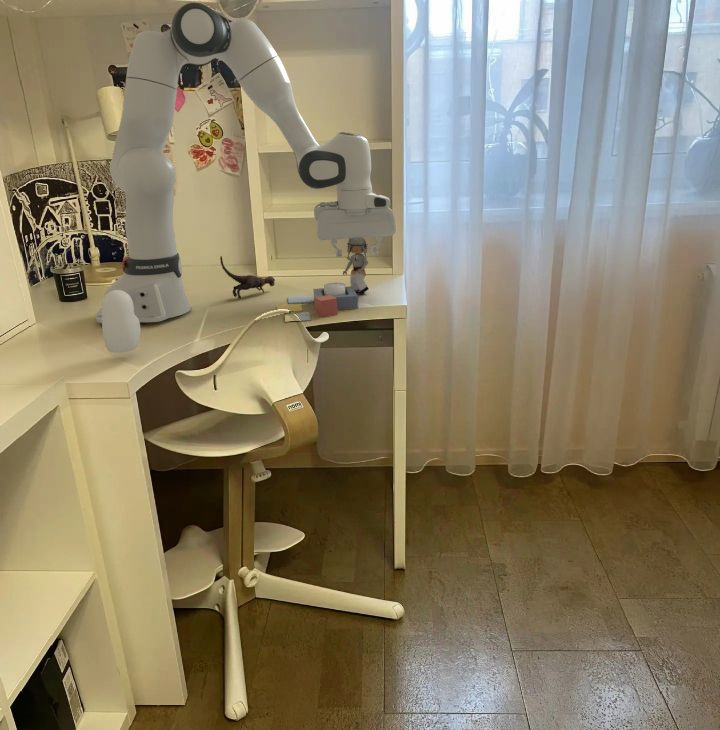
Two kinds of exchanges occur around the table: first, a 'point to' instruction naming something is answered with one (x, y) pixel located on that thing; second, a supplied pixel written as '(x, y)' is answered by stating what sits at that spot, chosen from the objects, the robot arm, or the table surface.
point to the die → (325, 305)
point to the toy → (357, 264)
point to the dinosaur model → (248, 281)
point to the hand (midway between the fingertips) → (357, 255)
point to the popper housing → (342, 298)
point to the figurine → (119, 322)
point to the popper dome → (334, 289)
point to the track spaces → (301, 300)
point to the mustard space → (291, 307)
